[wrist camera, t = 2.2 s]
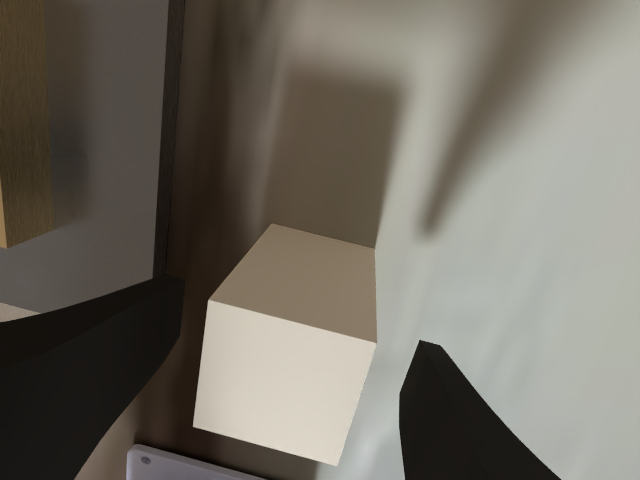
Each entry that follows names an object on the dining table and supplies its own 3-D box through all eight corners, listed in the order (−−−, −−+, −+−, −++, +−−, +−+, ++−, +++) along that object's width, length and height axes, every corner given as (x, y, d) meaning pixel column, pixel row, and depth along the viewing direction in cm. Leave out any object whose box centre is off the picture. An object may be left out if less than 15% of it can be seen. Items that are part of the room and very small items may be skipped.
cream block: (374, 248, 14) (377, 343, 9) (349, 336, 16) (337, 466, 10) (271, 223, 14) (208, 299, 9) (256, 312, 16) (192, 426, 10)
